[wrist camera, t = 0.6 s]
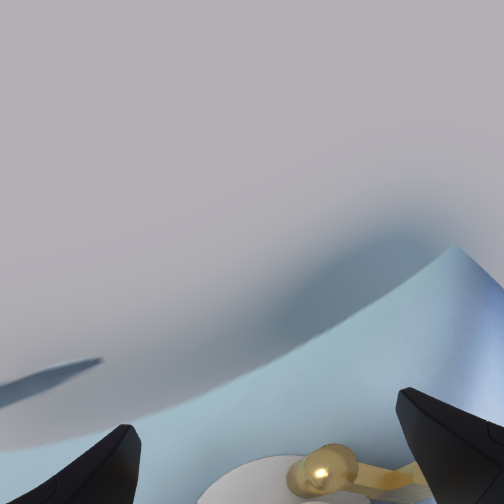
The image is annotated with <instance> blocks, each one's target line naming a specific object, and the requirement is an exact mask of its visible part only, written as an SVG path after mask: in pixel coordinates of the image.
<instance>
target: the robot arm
mask: <svg viewBox="0 0 504 504" xmlns="http://www.w3.org/2000/svg"><path fill="white" fill-rule="evenodd" d="M396 413H397V416H398V419H399V421H400V424H401V427H402V430H403V432H404V435H405V438H406V440H407V443H408V446H409V448H410V450H411V452H412V454H413V456H414V458H415V460H416V462H417V464H418V466H419V468H420V470H421V472H422V474H423V476H424V478H425V480H426V482H427V484H428V486H429V488H430V490H431V492H432V494H433V496H434V498H435V500H436V502H437V504H504V427H502V426H500V425H497V424H494V423H492V422H489V421H486V420H484V419H482V418H479V417H477V416H475V415H472V414H470V413H468V412H465V411H463V410H461V409H458V408H456V407H454V406H451V405H449V404H447V403H445V402H442V401H440V400H438V399H436V398H433V397H431V396H429V395H427V394H425V393H422V392H420V391H418V390H416V389H414V388H411V387H408V388H405V389H402V390H400V391H399V393H398V398H397V403H396ZM140 455H141V440H140V438H139V436H138V434H137V432H136V431H135V429H134V427H133V426H132V425H128V424H121V425H119V426H118V427H117V428H116V429H114V430H113V431H112V432H111V433H109V434H108V435H107V436H105V437H104V438H103V439H102V440H100V441H99V442H98V443H97V444H95V445H94V446H93V447H91V448H90V449H89V450H87V451H86V452H85V453H84V454H82V455H81V456H80V457H78V458H77V459H76V460H74V461H73V462H72V463H70V464H69V465H68V466H66V467H65V468H64V469H62V470H61V471H60V472H58V473H57V474H56V475H54V476H53V477H51V478H50V479H48V480H47V481H46V482H44V483H43V484H41V485H40V486H38V487H36V488H35V489H33V490H31V491H29V492H28V493H26V494H24V495H22V496H20V497H18V498H16V499H15V500H13V501H11V502H9V503H6V504H133V501H134V496H135V491H136V487H137V482H138V475H139V464H140Z"/></svg>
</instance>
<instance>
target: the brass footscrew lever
mask: <svg viewBox="0 0 504 504" xmlns="http://www.w3.org/2000/svg"><path fill="white" fill-rule="evenodd" d="M286 483H287V486H288V488H289V489H290V491H291V492H292V493H293V494H294V495H296V496H298V497H300V498H304V499H311V498H315V497H319V496H323V495H327V494H331V493H334V492H338V491H341V490H342V491H347V492H351V493H356V494H361V495H366V497H365V498H366V499H372V500H378V501H385V502H392V503H399V504H411V503H415V502H418V501H421V500H424V499H427V498H430V497H433V494H432V492H431V490H430V488H429V486H428V484H427V482H426V480H425V478H424V476H423V474H422V472H421V470H420V468H419V466H418V464H417V462H416V461H414V462H412V463H410V464H408V465H406V466H403V467H401V468H399V469H397V470H389V469H385V468H380V467H376V466H372V465H368V464H364V463H360V462H358V461H357V458H356V456H355V454H354V453H353V452H352V451H351V450H350V449H349V448H347V447H346V446H343V445H341V444H328V445H325V446H323V447H321V448H320V449H318V450H316V451H314V452H312V453H311V454H309V455H307V456H305V457H303V458H302V459H300V460H298V461H296V462H294V463H293V464H292V465H291V466H290V468H289V469H288V471H287V474H286Z"/></svg>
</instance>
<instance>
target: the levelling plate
mask: <svg viewBox="0 0 504 504" xmlns="http://www.w3.org/2000/svg"><path fill="white" fill-rule="evenodd" d="M303 457H305V456H296V455H281V456H272V457H267V458H262V459H258V460H255V461H252V462H249V463H246V464H244V465H242V466H239V467H237V468H235V469H234V470H232V471H230V472H229V473H227V474H225V475H224V476H222V477H221V478H219V479H218V480H217V481H216V482H214V483H213V484H212V485H211V486H210V487H209V488H208V489H207V490H206V491H205V492H204V493H203V494H202V495H201V497H200V498H199V499H198V500H197V502H196V504H371V502H370V500H369V499H366V498H365V497H366V495H361V494H356V493H351V492H347V491H342V490H341V491H338V492H334V493H331V494H327V495H323V496H319V497H315V498H311V499H304V498H300V497H298V496H296V495H294V494H293V493H292V492H291V491H290V489H289V488H288V486H287V483H286V474H287V471H288V469H289V468H290V466H291V465H292V464H293V463H294V462H296V461H298V460H300V459H302V458H303Z"/></svg>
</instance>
